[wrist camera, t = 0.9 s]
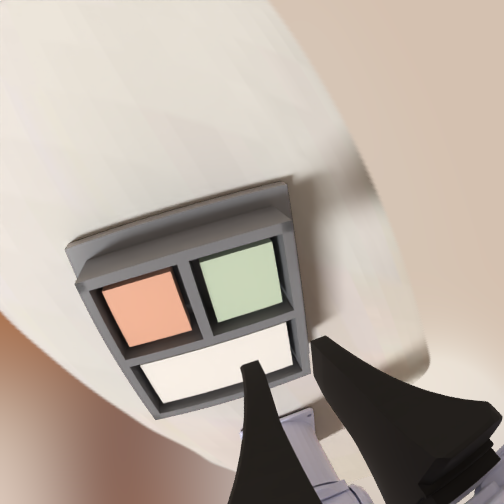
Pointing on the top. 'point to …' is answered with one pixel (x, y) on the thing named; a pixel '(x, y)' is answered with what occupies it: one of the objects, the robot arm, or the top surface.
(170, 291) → the terracotta key
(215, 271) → the green key
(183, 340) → the grey compartment tray
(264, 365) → the space bar
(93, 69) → the top surface
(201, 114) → the top surface
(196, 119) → the top surface
